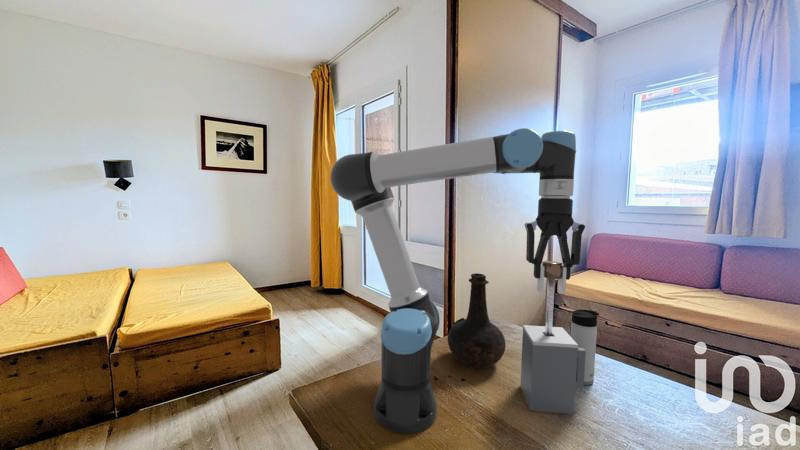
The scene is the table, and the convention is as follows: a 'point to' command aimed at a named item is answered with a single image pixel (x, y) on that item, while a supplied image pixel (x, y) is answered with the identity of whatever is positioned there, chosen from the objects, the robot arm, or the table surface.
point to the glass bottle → (476, 331)
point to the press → (551, 369)
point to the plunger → (551, 290)
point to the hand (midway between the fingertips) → (550, 291)
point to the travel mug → (585, 339)
